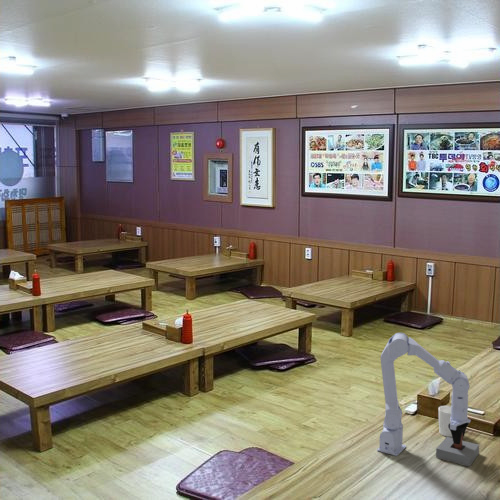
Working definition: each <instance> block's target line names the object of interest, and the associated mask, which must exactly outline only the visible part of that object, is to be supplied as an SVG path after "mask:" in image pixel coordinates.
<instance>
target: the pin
mask: <svg viewBox="0 0 500 500" xmlns="http://www.w3.org/2000/svg"><path fill="white" fill-rule="evenodd" d="M462 439H463V440H464V438H463V433H462V437H461V442H460V444H455V443H454V448H455V449H458V450H462Z"/></svg>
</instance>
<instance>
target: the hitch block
mask: <svg viewBox="0 0 500 500" xmlns="http://www.w3.org/2000/svg"><path fill="white" fill-rule="evenodd" d="M435 449H436V450H435V458H437V459H440V460H444V461H446V462H447V461H448V462H450V463H454V464H459V465H462V466H465V467H471V465H472V464H473V462H474V461H475V460H476V458H477V457H478V456H479V454H480V444H479V443H478V444H477V443H474V442H470V441H465V440H463V441H462V450H458V449H455V448H454V442H453V438H452V437H448V436H445V438H444V439H443V440H442V442H440V444H439V445H438V446H437V447H436V448H435Z"/></svg>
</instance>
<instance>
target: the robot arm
mask: <svg viewBox="0 0 500 500" xmlns="http://www.w3.org/2000/svg"><path fill="white" fill-rule="evenodd" d="M406 354H407V356H416V357H418V358H419V359H421V360H422V361H424V362H425V363H426V364H428V365H429V366H430V367H432V368H433V372H434V373H435V374H436V375H437V376H438V377H440V378H441V379H442V380H443V381H445V382H446V383H448V384H450V385H451V386H452V390H451V391H452V392H451V402H450V403H451V404H450V406H451V416H450V421H451V423H450V424H449V425H448V428H449V429H450V431H451V434H452V437H451V438H453V442H454V443H455V444H460V442H461V437H462V433H463V439H462V441H464V437H465V433H466V431H467V428H468V426H469V425H470V423H471V422H472V421H471V419H470V418H468V415H469V414H468V412H469V411H468V409H469V394H468V393H469V389H470V382H469V378H468V376H467V375H466V374H465V373H464V372H463V371H461V370H457V368H455V367H454V366H452V365H451V362H449V361H448V360H447V361H445V360H444V359H437V358H436V357H435V356H434V355H432V354H431V352H429V351H428V350H427V349H425V348H424V347H423V346H422V345H420V344H419V343H418V342H417V341H416V340H415V339H414V338H412V337H411V336H409V337H408V335H407V334H406V333H404V332H396V333H395V334H393V335H392V336H391V337H390V338H389V339H388V341H387V343H386V345H385V346H384V349H383V350H382V352H381V354H380V365H381V374H382V384H383V394H384V402H385V403H384V405H385V413H384V419H383V427H382V428H383V429H382V431H381V432H380V434H379V447H378V448H377V449H376V451H378V452H381V453H383V454H388V455H392V456H395V457H397V456H399V455H400V454H401V453H402V452H403V451H404V450H405V449H406V448H407V445H406V444H403V437H404V436H403V435H404V434H403V431H404V424H403V423H402V421H403V420H402V416H403V411H402V408H401V407H400V404H399V399H398V391H397V381H396V374H395V373H396V372H395V363H394V361H396V360H397V359H398V358H400V357H402V356H404V355H406Z"/></svg>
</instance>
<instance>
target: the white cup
mask: <svg viewBox="0 0 500 500" xmlns="http://www.w3.org/2000/svg"><path fill="white" fill-rule="evenodd" d="M450 416H451V405H440V406H438V432H439V434H440V435H441V436H444V437H450V438H452V434H451V431H450V429H449V428H448V425H449V424H450V423H451V421H450Z"/></svg>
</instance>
